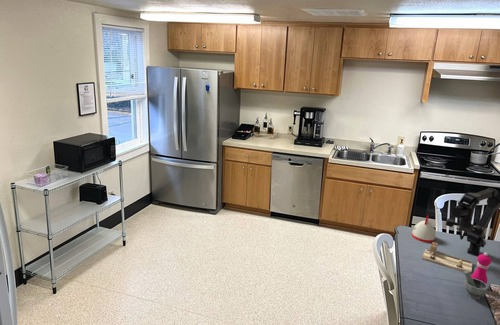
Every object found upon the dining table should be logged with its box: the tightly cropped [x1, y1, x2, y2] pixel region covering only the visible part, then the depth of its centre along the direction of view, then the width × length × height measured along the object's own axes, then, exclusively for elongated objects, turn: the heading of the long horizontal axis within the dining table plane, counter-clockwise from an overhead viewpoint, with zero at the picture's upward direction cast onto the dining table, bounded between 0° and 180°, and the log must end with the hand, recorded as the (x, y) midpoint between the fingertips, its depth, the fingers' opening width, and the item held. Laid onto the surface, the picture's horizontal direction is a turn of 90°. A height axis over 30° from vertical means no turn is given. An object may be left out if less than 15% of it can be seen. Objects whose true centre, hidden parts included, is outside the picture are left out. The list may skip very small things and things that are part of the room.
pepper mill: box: [471, 251, 492, 284], centre depth 187 cm, size 7×7×20 cm
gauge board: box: [421, 247, 473, 275], centre depth 212 cm, size 13×25×2 cm, turn 57°
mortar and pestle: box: [463, 271, 489, 300], centre depth 181 cm, size 11×9×12 cm
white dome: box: [411, 215, 437, 243], centre depth 238 cm, size 14×14×15 cm
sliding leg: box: [429, 241, 439, 257], centre depth 216 cm, size 11×3×5 cm, turn 147°
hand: (461, 239), depth 214 cm, fingers closed
